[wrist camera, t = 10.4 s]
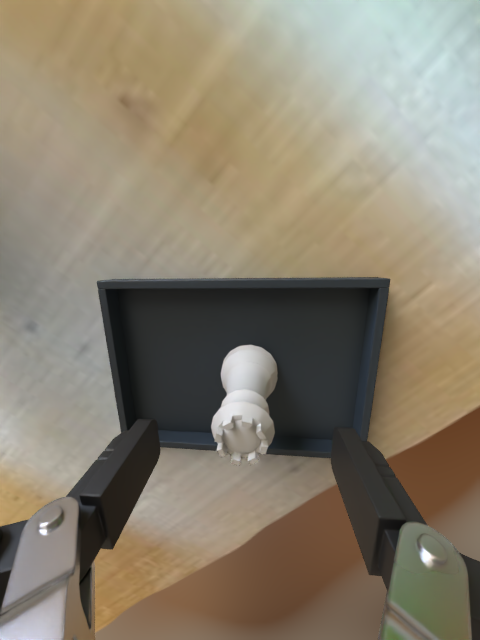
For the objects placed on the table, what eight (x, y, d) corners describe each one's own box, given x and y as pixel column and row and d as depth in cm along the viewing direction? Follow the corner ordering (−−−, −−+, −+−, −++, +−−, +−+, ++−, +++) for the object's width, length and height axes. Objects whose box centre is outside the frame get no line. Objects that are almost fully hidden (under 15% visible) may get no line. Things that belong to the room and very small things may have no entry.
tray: (112, 279, 18) (96, 281, 16) (376, 277, 16) (390, 278, 14) (134, 429, 21) (123, 445, 20) (354, 442, 20) (364, 460, 18)
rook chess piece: (266, 335, 17) (270, 390, 10) (284, 384, 18) (301, 471, 11) (214, 352, 18) (179, 416, 10) (234, 399, 19) (215, 490, 11)
